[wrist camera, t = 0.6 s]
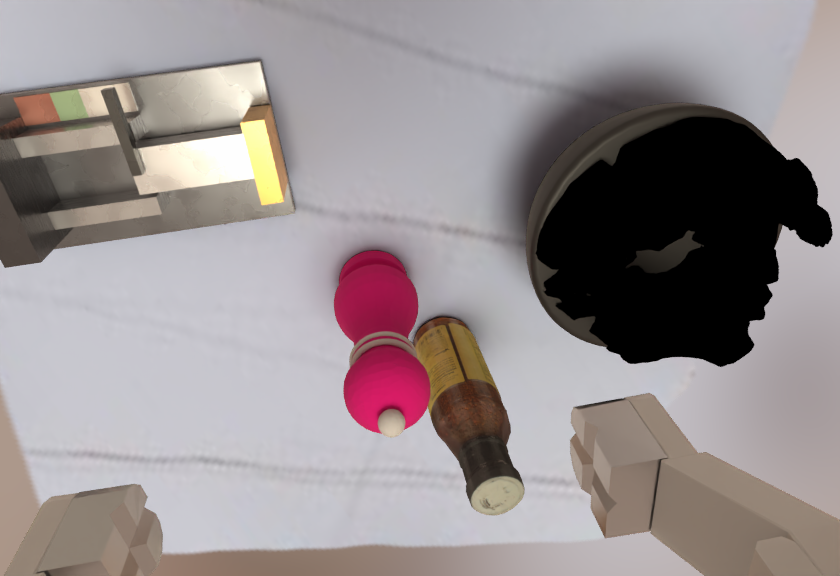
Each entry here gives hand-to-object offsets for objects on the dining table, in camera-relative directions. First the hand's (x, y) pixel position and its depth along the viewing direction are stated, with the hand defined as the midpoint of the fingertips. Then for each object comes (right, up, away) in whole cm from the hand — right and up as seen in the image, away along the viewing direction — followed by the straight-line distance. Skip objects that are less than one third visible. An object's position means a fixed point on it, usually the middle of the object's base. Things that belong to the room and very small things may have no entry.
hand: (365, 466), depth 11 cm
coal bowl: (+18, +12, +42) cm, 47 cm away
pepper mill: (-3, +4, +43) cm, 43 cm away
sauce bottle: (+3, -2, +47) cm, 47 cm away
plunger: (-15, +15, +33) cm, 39 cm away
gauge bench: (-20, +14, +35) cm, 42 cm away
